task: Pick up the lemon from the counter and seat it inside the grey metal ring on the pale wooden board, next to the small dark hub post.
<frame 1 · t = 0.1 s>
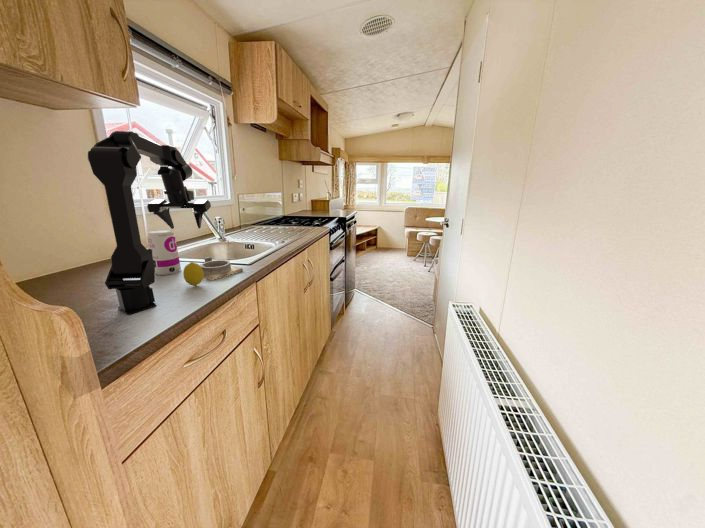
hand: (186, 228, 101), 15 cm above the countertop, tool pointing down, fingers open, 9 cm apart
carrier board: (216, 271, 102), on the countertop
lemon: (195, 286, 89), on the countertop
supplement can: (168, 272, 101), on the countertop
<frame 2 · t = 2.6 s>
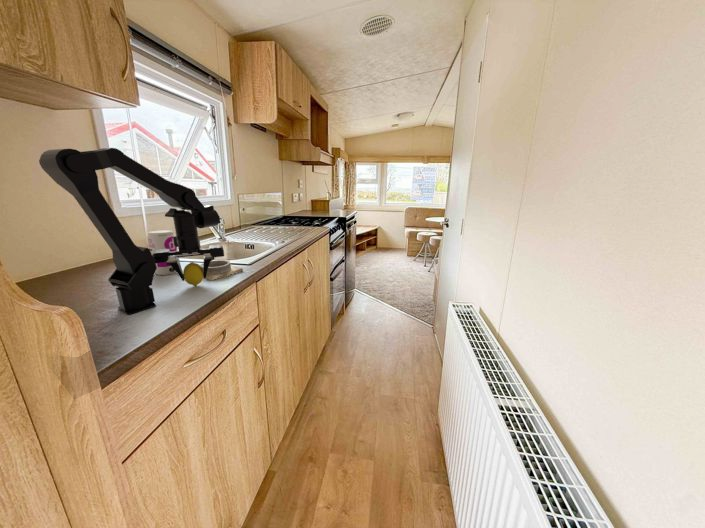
hand: (194, 279, 88), 2 cm above the countertop, tool pointing down, fingers closed on lemon, 5 cm apart
lemon: (195, 286, 89), on the countertop, touching gripper
everything else where it was.
when the fingers open (5 cm above the countertop, at t = 6.3 s): lemon drops 1 cm, resting on carrier board.
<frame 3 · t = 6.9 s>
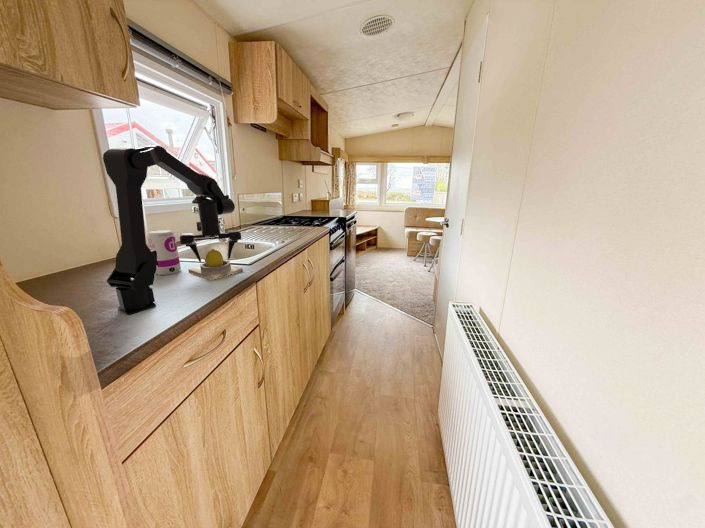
hand: (214, 260, 99), 5 cm above the countertop, tool pointing down, fingers open, 9 cm apart
lemon: (216, 270, 100), point 1 cm above the countertop, touching carrier board
everything else where it was.
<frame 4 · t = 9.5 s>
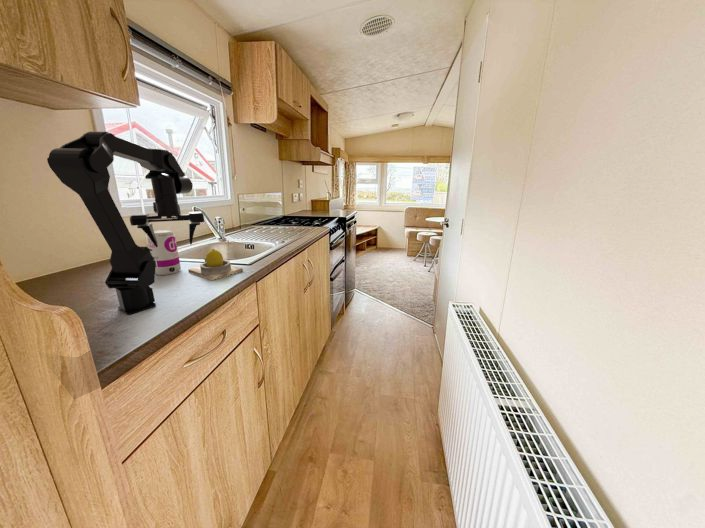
hand: (174, 245, 88), 13 cm above the countertop, tool pointing down, fingers open, 9 cm apart
nothing on the countertop moved.
at the end: lemon 0.1 cm from the target spot on the carrier board, point 1.0 cm above the carrier board's base; the gripper is holding nothing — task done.
